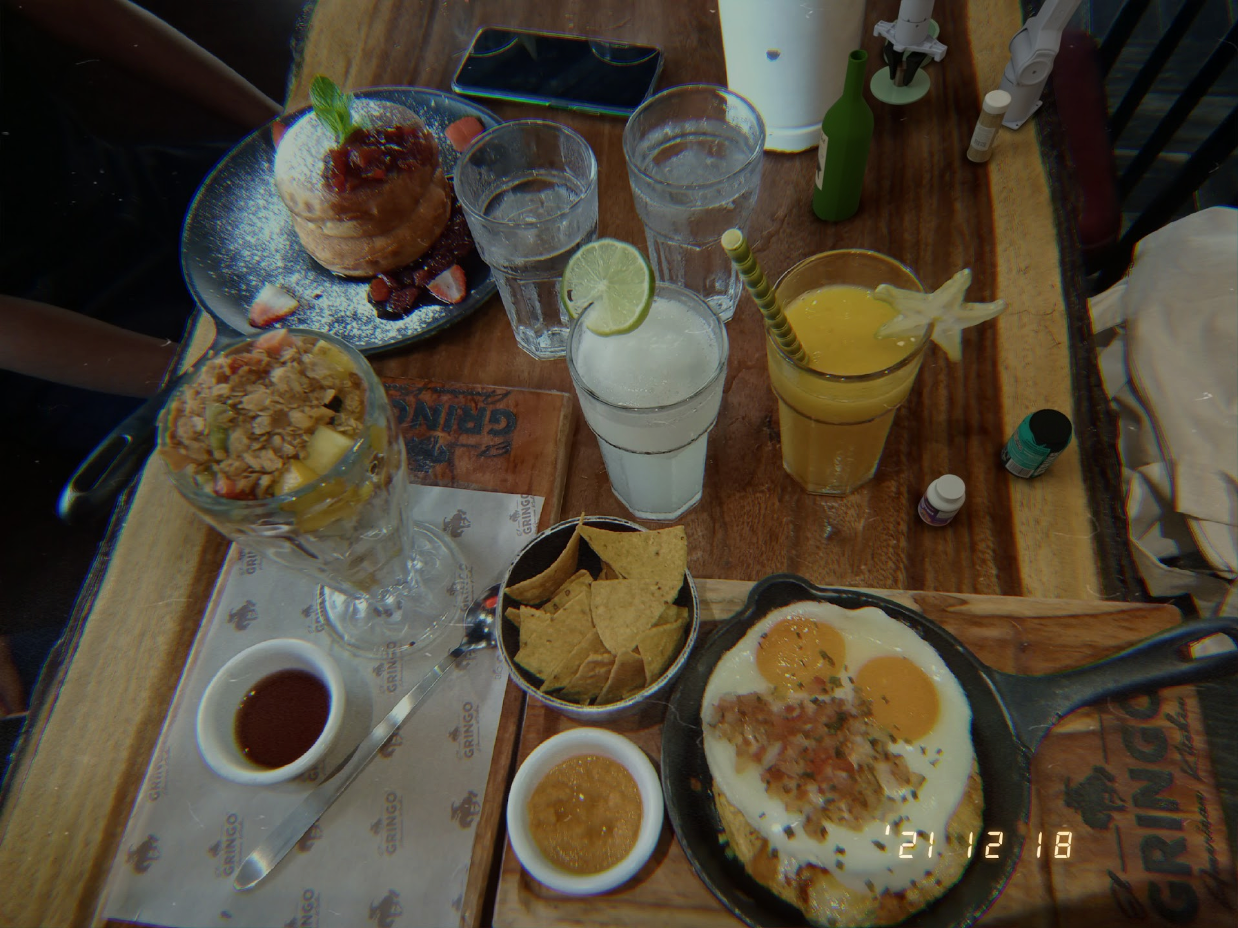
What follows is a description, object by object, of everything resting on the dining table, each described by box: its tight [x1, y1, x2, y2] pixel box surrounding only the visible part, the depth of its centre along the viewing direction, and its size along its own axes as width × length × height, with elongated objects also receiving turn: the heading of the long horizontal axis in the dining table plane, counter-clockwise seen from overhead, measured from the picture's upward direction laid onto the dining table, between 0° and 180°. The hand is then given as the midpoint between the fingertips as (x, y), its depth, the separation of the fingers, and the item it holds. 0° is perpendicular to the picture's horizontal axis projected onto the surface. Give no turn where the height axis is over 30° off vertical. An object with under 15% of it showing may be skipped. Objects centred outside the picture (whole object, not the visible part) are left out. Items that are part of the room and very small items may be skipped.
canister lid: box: [869, 60, 931, 106], centre depth 145 cm, size 11×11×5 cm
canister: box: [883, 18, 941, 69], centre depth 160 cm, size 10×10×6 cm
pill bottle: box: [917, 474, 966, 527], centre depth 112 cm, size 5×5×10 cm
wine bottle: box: [812, 49, 875, 222], centre depth 132 cm, size 9×9×32 cm
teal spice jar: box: [1000, 408, 1073, 480], centre depth 112 cm, size 7×7×12 cm
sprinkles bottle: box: [966, 89, 1011, 163], centre depth 140 cm, size 5×5×13 cm
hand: (900, 80), depth 146 cm, fingers closed on canister lid, 2 cm apart
